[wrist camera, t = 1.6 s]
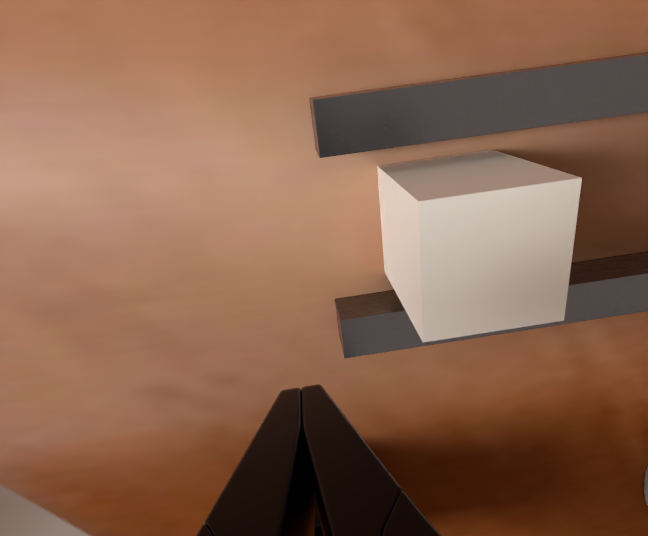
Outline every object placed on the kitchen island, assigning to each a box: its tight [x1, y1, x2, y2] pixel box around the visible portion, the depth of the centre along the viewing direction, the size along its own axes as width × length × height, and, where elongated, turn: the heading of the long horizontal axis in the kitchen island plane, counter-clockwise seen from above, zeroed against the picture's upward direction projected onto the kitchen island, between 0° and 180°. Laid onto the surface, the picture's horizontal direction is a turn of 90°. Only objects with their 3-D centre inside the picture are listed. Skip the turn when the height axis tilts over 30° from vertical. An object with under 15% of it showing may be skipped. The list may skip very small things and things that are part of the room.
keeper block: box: [377, 150, 582, 342], centre depth 16 cm, size 5×5×6 cm
